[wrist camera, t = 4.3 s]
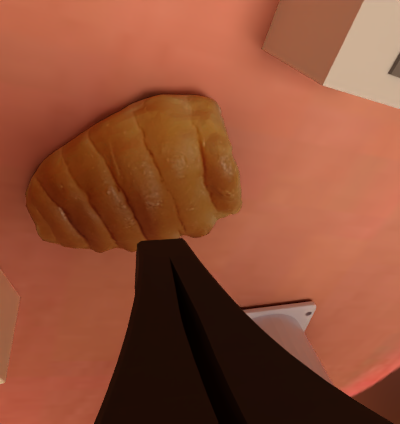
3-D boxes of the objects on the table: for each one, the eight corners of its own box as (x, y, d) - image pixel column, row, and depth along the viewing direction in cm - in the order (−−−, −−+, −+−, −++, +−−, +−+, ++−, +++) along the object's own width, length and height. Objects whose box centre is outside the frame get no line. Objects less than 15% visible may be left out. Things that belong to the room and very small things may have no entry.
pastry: (69, 251, 19) (66, 308, 16) (-9, 141, 14) (-33, 191, 11) (235, 191, 19) (262, 236, 16) (207, 67, 15) (237, 97, 12)
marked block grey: (351, 78, 17) (433, 119, 13) (260, 48, 15) (325, 86, 11) (416, -47, 14) (546, -44, 10) (317, -102, 12) (428, -124, 8)
